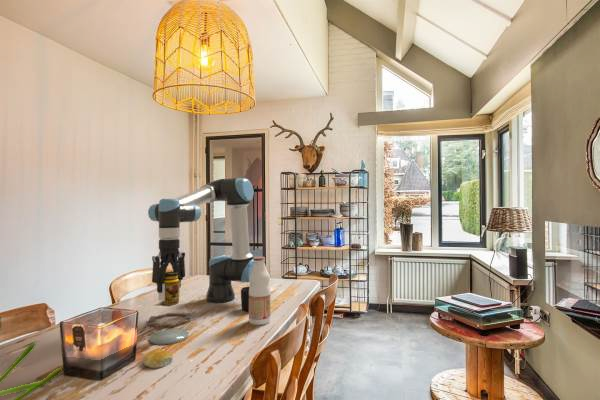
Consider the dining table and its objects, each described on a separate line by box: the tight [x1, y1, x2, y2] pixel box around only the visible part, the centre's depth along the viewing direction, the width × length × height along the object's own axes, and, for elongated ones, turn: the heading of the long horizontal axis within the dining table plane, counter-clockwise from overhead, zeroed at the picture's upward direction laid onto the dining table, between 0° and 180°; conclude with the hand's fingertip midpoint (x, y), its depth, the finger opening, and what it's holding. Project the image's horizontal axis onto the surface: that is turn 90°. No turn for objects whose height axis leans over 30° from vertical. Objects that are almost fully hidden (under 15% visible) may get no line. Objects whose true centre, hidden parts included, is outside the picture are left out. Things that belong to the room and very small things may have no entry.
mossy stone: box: [143, 348, 174, 369], centre depth 113 cm, size 8×9×4 cm
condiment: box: [154, 271, 184, 308], centre depth 134 cm, size 7×8×12 cm
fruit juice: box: [248, 256, 272, 326], centre depth 151 cm, size 9×9×28 cm
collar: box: [147, 311, 192, 329], centre depth 153 cm, size 17×17×2 cm
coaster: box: [149, 328, 189, 346], centre depth 134 cm, size 14×14×1 cm
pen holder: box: [240, 286, 250, 313], centre depth 169 cm, size 9×9×10 cm
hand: (169, 298), depth 134 cm, fingers closed on condiment, 6 cm apart
